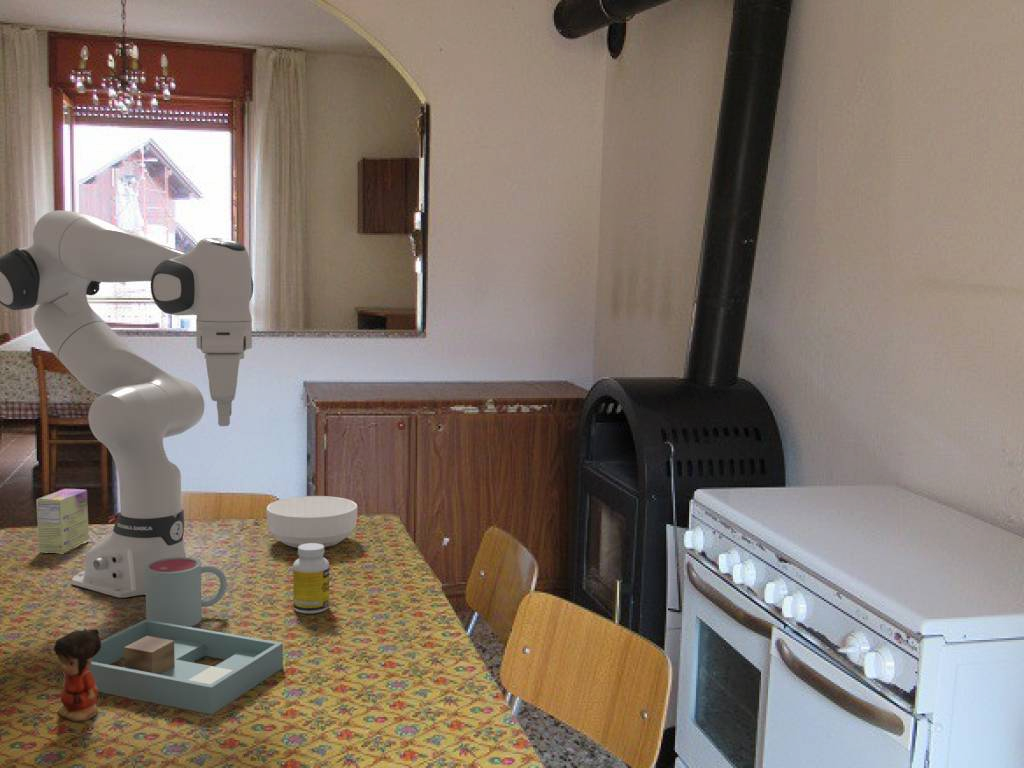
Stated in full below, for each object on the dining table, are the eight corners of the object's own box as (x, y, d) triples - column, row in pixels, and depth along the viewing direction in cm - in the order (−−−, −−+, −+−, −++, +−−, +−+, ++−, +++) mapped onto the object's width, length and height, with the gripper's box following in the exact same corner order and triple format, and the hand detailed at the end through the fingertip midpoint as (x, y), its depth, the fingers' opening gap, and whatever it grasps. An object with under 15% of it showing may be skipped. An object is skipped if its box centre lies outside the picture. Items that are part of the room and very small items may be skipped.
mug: (150, 633, 174) (149, 575, 173) (142, 615, 183) (141, 560, 181) (233, 621, 181) (232, 566, 180) (221, 605, 189) (221, 551, 188)
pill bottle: (321, 616, 184) (321, 553, 183) (287, 613, 186) (286, 550, 184) (334, 604, 191) (334, 543, 189) (301, 601, 192) (301, 540, 190)
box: (65, 540, 228) (63, 487, 226) (89, 542, 227) (87, 489, 226) (37, 553, 218) (35, 498, 216) (62, 555, 217) (60, 500, 215)
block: (124, 673, 153) (123, 647, 153) (147, 661, 158) (146, 635, 157) (152, 678, 151) (151, 652, 151) (174, 666, 156) (174, 640, 156)
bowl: (349, 557, 220) (349, 518, 219) (256, 554, 220) (256, 516, 219) (363, 532, 240) (363, 496, 239) (278, 530, 240) (278, 494, 239)
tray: (64, 684, 153) (63, 658, 153) (146, 642, 170) (145, 619, 170) (211, 714, 145) (211, 687, 144) (283, 667, 161) (282, 643, 161)
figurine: (65, 703, 147) (62, 622, 146) (105, 703, 148) (103, 622, 146) (49, 723, 141) (46, 639, 139) (91, 723, 141) (89, 638, 140)
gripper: (207, 333, 180) (208, 411, 182) (201, 343, 160) (202, 431, 162) (244, 333, 182) (245, 411, 183) (243, 343, 162) (243, 430, 164)
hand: (225, 420), depth 173 cm, fingers open, 8 cm apart
